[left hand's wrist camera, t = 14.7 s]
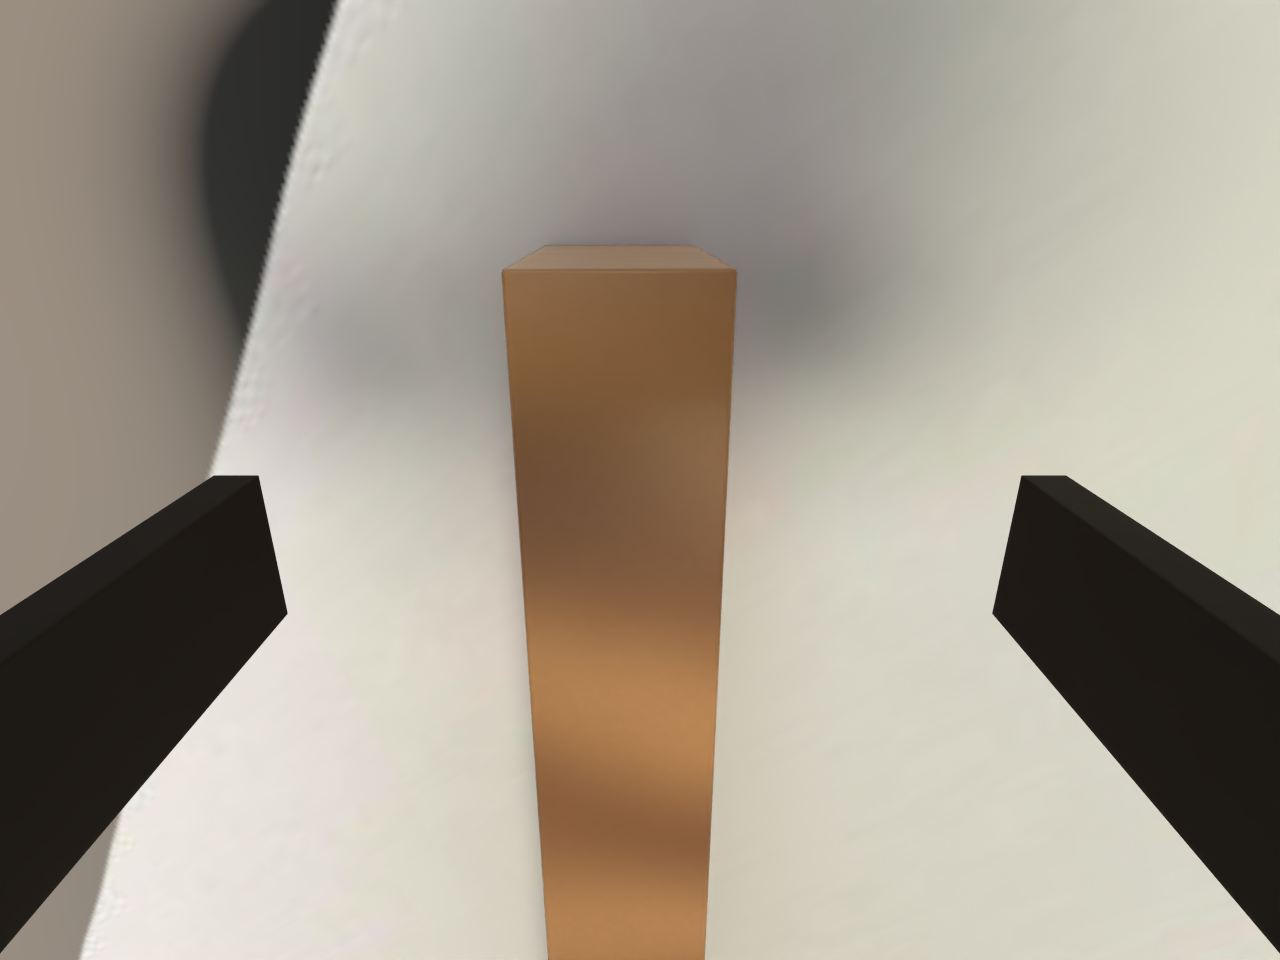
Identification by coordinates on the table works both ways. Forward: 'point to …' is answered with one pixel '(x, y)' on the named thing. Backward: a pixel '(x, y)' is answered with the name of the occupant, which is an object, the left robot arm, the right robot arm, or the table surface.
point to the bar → (622, 580)
